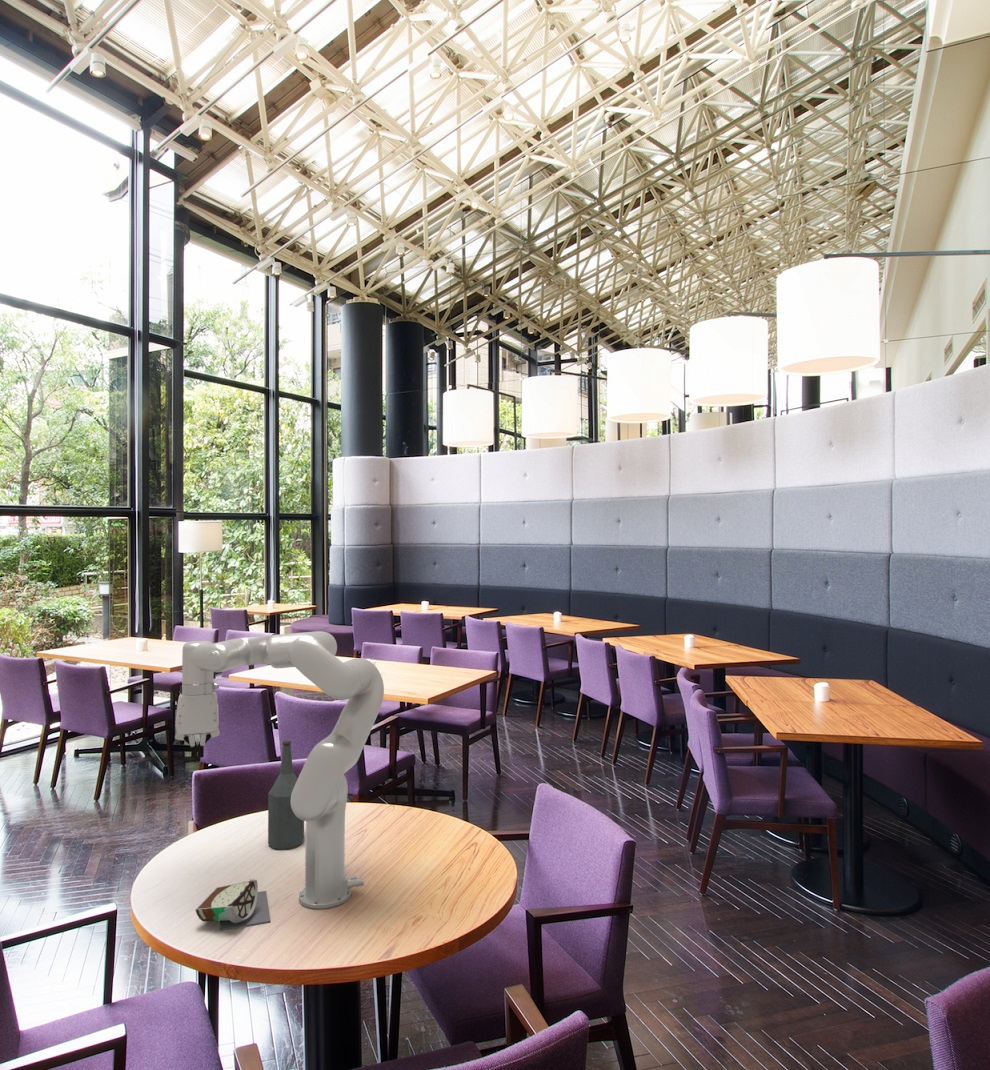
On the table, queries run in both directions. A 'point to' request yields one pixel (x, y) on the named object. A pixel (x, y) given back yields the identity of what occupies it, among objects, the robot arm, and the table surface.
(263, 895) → the mat
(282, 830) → the bottle
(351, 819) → the table surface
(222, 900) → the food container
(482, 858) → the table surface
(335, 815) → the robot arm
